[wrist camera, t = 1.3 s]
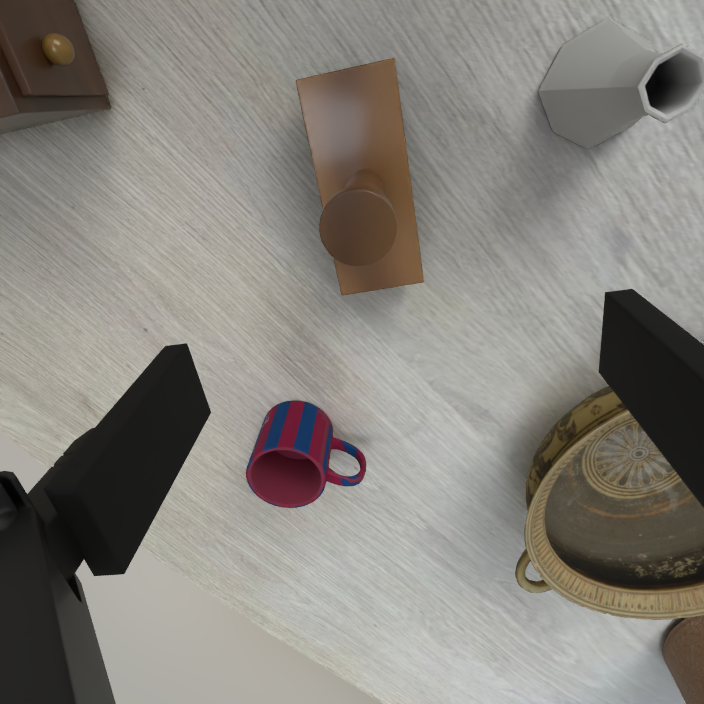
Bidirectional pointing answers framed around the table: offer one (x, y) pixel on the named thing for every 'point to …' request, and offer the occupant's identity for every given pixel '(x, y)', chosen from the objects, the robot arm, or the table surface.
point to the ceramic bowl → (612, 518)
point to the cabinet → (46, 65)
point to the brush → (362, 176)
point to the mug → (297, 456)
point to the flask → (617, 83)
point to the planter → (687, 658)
